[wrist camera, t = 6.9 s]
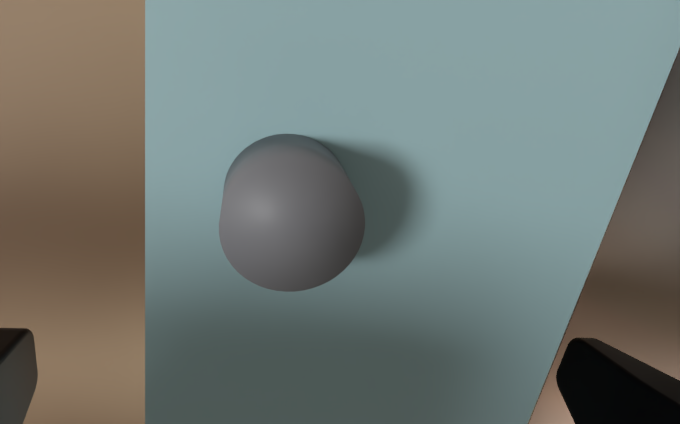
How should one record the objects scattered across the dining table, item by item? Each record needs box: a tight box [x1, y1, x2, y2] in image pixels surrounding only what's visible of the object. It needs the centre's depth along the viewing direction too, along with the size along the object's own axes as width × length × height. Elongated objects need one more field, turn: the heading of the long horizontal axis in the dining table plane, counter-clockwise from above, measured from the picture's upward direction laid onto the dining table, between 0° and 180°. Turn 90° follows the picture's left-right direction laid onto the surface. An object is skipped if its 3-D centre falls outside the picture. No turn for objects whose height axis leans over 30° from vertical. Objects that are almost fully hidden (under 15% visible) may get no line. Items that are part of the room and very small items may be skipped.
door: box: [145, 0, 680, 424], centre depth 8 cm, size 12×5×5 cm, turn 171°
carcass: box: [0, 0, 680, 424], centre depth 9 cm, size 18×13×4 cm
